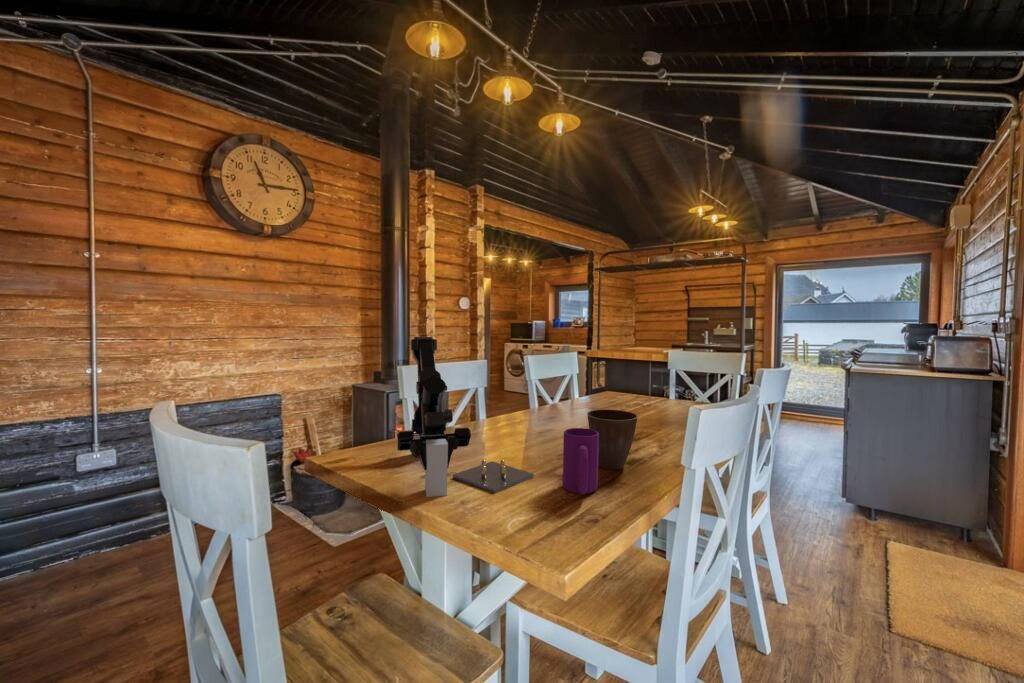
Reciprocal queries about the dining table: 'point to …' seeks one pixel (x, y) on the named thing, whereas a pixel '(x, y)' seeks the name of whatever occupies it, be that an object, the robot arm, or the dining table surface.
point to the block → (436, 467)
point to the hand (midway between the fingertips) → (436, 468)
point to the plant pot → (613, 436)
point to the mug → (580, 460)
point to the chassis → (493, 476)
